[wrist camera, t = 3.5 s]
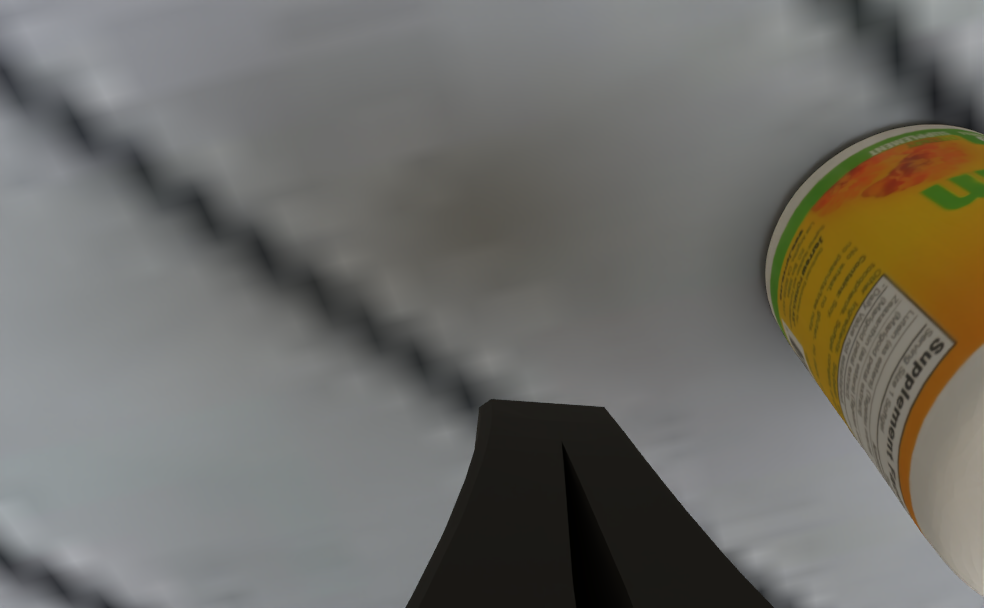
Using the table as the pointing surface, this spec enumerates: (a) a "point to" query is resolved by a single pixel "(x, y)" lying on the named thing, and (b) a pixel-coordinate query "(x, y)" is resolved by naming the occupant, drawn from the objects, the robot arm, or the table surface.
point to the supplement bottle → (898, 317)
